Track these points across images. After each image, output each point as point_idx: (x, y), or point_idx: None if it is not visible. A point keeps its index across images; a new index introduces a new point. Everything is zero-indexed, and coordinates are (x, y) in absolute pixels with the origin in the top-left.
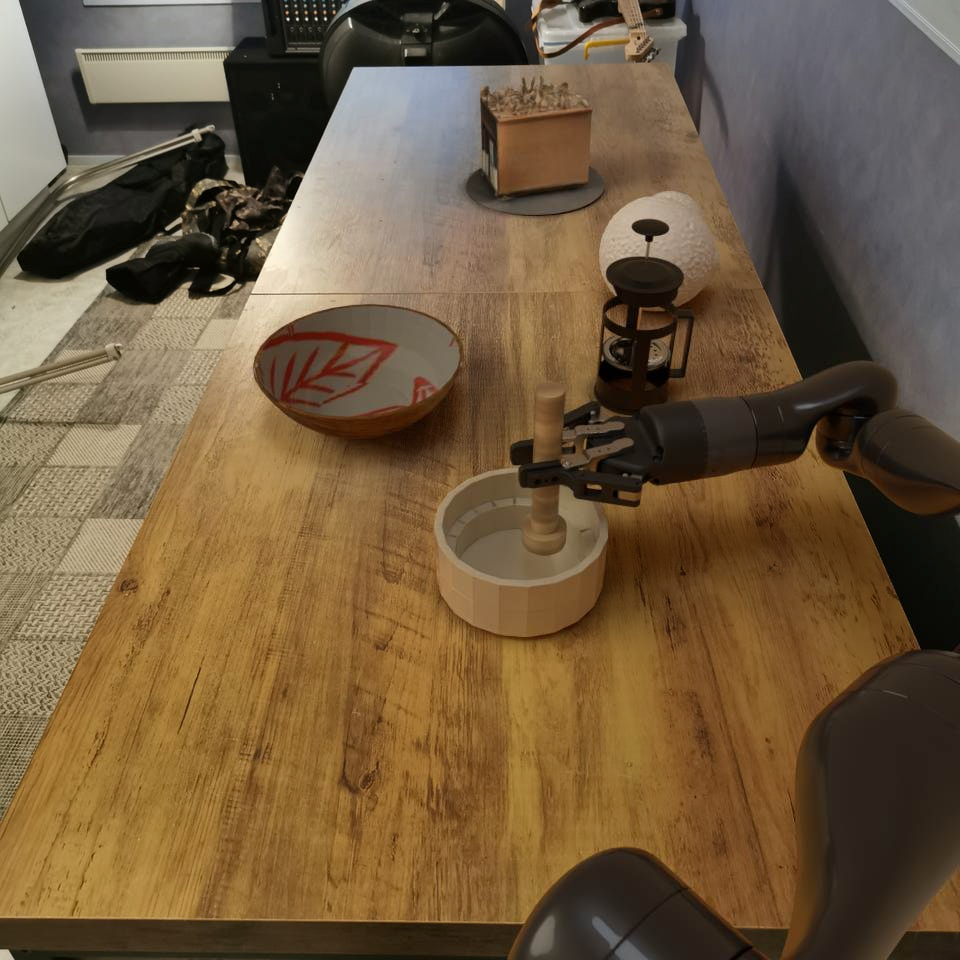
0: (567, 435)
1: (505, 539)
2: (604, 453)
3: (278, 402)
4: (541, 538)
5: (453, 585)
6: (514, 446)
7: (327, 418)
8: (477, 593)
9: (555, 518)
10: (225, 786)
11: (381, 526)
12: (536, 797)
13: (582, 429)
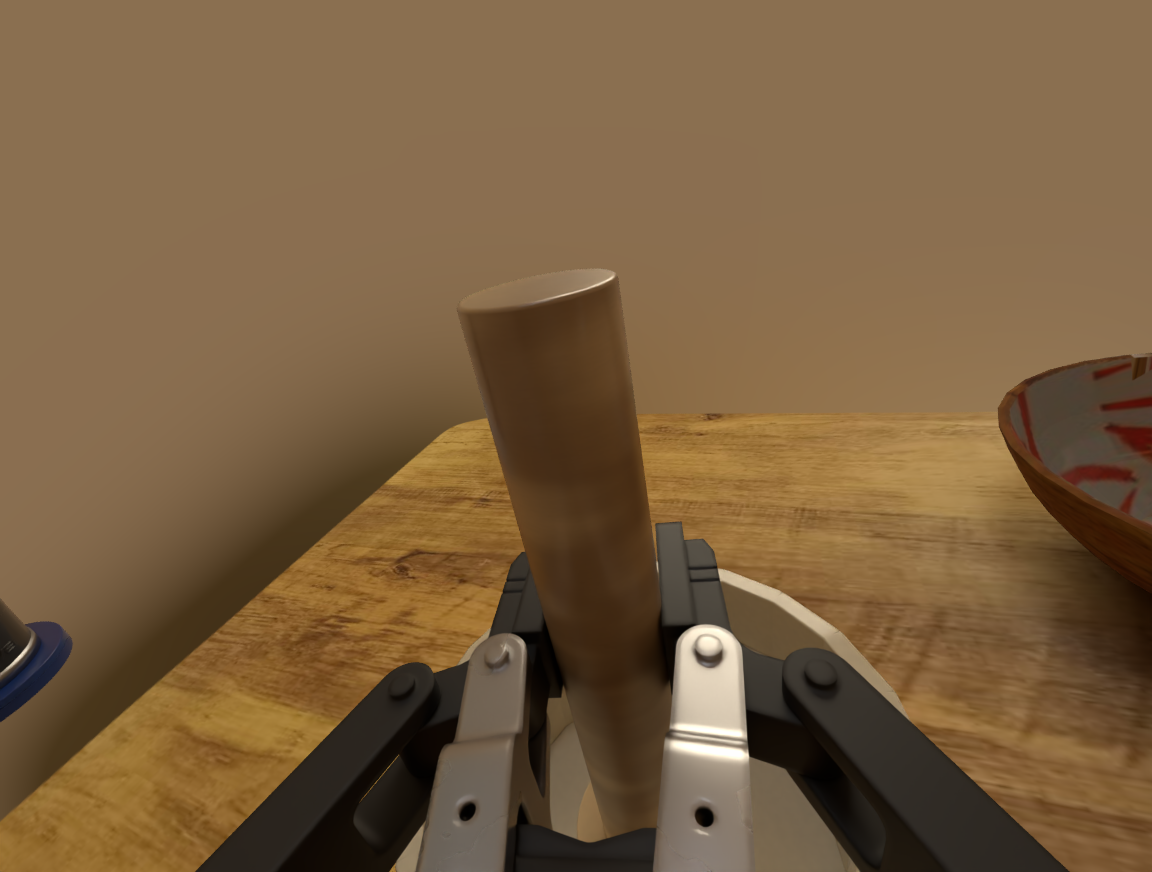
0: (699, 701)
1: (795, 832)
2: (430, 836)
3: (1019, 384)
4: (592, 795)
5: None
6: (664, 524)
7: (1000, 428)
8: None
9: (604, 822)
10: (467, 486)
11: (831, 596)
12: (234, 738)
13: (702, 768)
